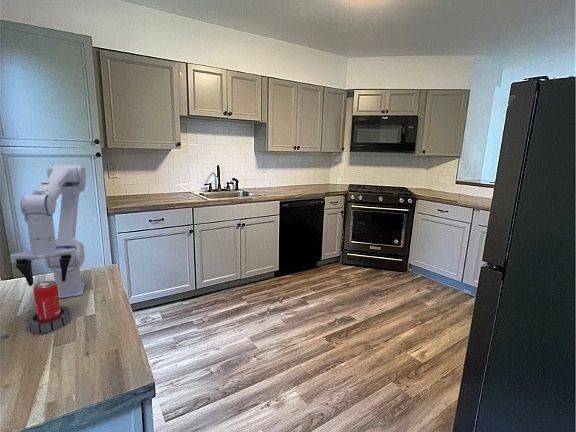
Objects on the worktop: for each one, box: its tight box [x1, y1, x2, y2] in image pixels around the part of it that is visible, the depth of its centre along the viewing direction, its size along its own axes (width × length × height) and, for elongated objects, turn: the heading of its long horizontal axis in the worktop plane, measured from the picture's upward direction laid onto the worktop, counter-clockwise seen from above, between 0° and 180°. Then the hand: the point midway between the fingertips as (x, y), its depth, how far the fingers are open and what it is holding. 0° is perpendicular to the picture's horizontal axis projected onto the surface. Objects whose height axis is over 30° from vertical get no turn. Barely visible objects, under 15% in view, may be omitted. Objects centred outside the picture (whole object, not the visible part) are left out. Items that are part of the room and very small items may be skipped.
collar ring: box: [25, 305, 72, 334], centre depth 89 cm, size 10×10×2 cm
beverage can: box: [32, 280, 61, 322], centre depth 88 cm, size 5×5×12 cm
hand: (48, 282), depth 91 cm, fingers open, 7 cm apart
